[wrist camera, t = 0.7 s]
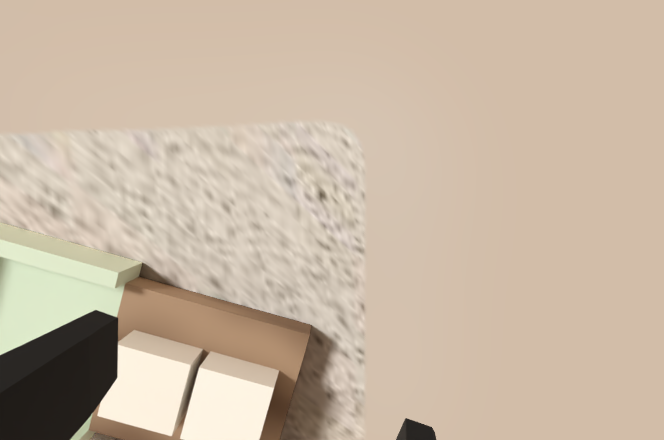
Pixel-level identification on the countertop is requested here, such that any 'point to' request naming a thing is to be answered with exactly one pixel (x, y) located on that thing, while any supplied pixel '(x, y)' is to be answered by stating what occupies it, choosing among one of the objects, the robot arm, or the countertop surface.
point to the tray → (55, 287)
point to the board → (211, 344)
